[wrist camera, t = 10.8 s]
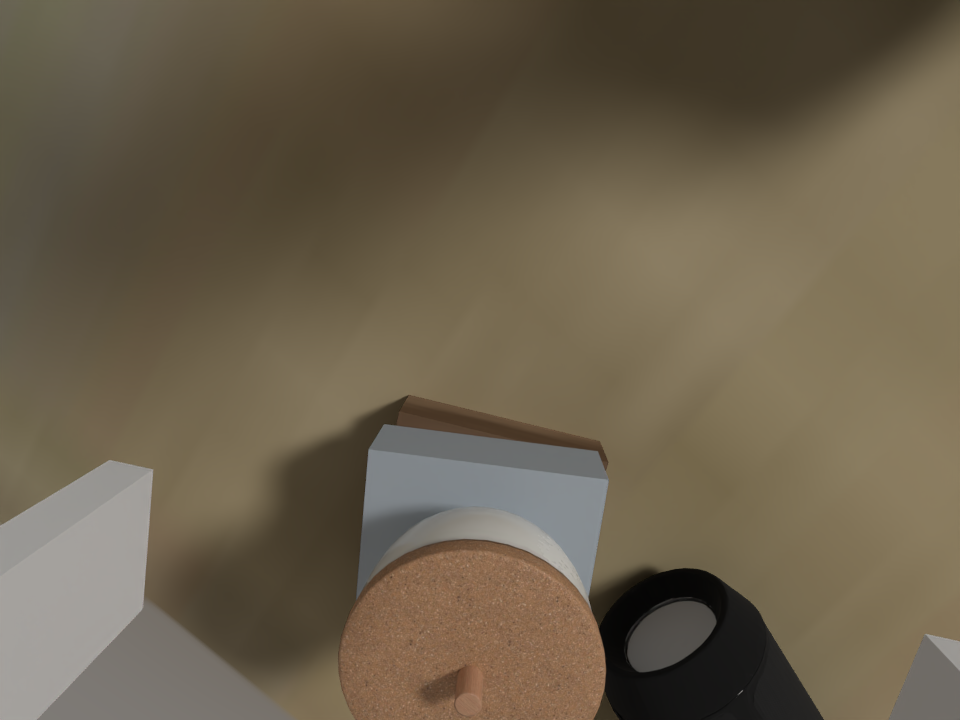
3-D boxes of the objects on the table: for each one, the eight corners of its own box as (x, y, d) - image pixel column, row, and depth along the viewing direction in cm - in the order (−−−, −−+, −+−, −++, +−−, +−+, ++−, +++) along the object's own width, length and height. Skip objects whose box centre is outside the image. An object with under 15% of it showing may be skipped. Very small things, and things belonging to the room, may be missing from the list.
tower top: (383, 424, 36) (368, 449, 32) (597, 451, 35) (608, 479, 31) (367, 613, 38) (350, 658, 34) (566, 639, 38) (572, 687, 34)
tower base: (410, 392, 39) (399, 411, 35) (598, 438, 39) (608, 462, 35) (372, 563, 42) (357, 598, 38) (549, 606, 42) (553, 645, 38)
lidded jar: (472, 429, 31) (457, 516, 22) (628, 567, 32) (675, 704, 23) (334, 572, 33) (267, 706, 24) (485, 697, 34) (477, 869, 25)
